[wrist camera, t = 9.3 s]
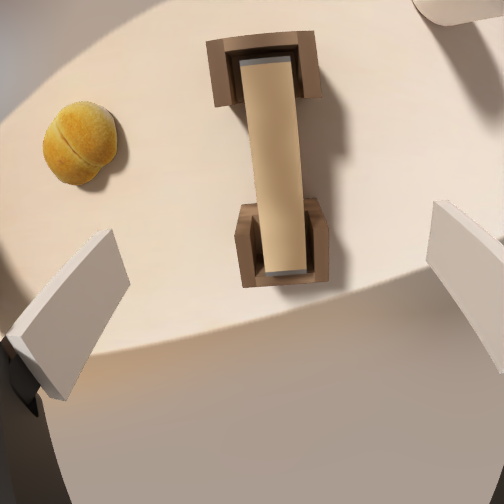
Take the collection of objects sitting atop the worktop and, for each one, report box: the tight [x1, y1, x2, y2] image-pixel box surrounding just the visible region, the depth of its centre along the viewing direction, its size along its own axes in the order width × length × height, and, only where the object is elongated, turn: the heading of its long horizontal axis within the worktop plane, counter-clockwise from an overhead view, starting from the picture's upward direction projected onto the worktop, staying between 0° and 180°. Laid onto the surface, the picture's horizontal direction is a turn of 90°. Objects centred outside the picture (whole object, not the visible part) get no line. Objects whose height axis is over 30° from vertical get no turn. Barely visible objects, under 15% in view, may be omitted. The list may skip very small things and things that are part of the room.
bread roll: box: [43, 102, 117, 185], centre depth 26 cm, size 8×9×4 cm
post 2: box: [234, 198, 329, 288], centre depth 29 cm, size 7×5×7 cm
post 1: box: [206, 31, 322, 107], centre depth 22 cm, size 7×5×7 cm
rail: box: [240, 56, 307, 277], centre depth 23 cm, size 3×16×6 cm, turn 7°
